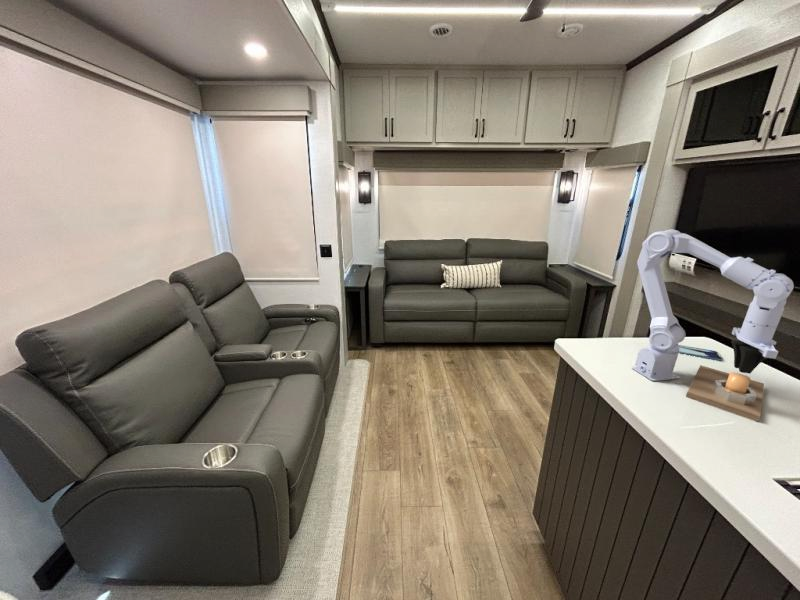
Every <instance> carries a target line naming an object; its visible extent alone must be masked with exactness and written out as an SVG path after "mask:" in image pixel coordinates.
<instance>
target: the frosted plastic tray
mask: <svg viewBox="0 0 800 600" xmlns="http://www.w3.org/2000/svg"><path fill="white" fill-rule="evenodd" d="M726 382H727V380H717V381H715V383H714V386H713V391H714V394H716V395H718V396H720V397H721V398H723V399H725V400H727V401H730V402H734V403H738V404H742V405H747V404H754V401H755V399H756V396H757V395H756V393H755V391H754V390H753V389H751V388H749V387H748V388H747V390H746V393H745V394H740V393H736V392H732V391H730V390H728V389H726V388H725V385H726Z"/></svg>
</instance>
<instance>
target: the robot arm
mask: <svg viewBox="0 0 800 600" xmlns="http://www.w3.org/2000/svg"><path fill="white" fill-rule="evenodd" d="M641 247H642V248H641V250H640V253H639V256H638V258H637V263H636V265H637V268H638V272H639V276H640V280H641V282H642V283H641V284H642V287H643V291H644V294H645V298H646V302H647V306H648V310H649V313H650V317H651V320H650V325H649V329H650V334H649V337H648V340H649V344H648V346H646V347H643V348H641V349H639V351H638V353H637V356H636V359H635V363H634V365H633V366H631V369H632V370H635V371H636V372H637V373H639V374H641V375H642V376H644V377H645V378H647V379H648V380H650V381H652V382H657V381H658V382H659V381H667V380H676V379H680V376H679V375H677V374H676V373H673V372H674V369H675V367H676V363H677V360H678V357H679V350H680V349H679V346H678V345H679V344H680V343H682V342H683V341H684V340H685V338H686V331H685V329H684V328H683V327H682V326H681V325H680V323H679V320H678V318H677V317H676V316H675V315H674V314H673V309H672V306H671V305H672V304H671V302H670V298H669V294H668V291H667V287H666V284H665V279H664V276H663V272H662V268H661V264H662V262H663V261H664V260H665V259H666V257H668V255H670V254H675V253H677V254H689V255H692V256H694V257H696V258H698V259H700V260H702V261H704V262H705V263H709V264H711V265H713V266H715V267H717V268H719V270H720V272H721V276H722V277H725V278H727V279H729V280H730V281H732V282H734V283H736V284H738V285H740V286H741V287H744V288H745V289H747V290H751V291H753V293H754V294H753V295H754V296H753V299H752V301H751V302H750V303H749V306H748V309H747V311H746V315H745V317H744V320H743V322H742V326H741V327H734V326H733V328H732V331H731V334H732V335H733V336H736V339H737V340H736V339H731V341H730V343H731V346H732V349H733V355H734V356H733V357H734V358H733V359H734V360H733V364H734V368H736V369H738V370H739V373H741V374H743V373H744V374H751V373H752V372H753V371H754V370H755V369H756V368H757V367H758V366H759V365H760V364H761V363H762V362H764V361H765V360H767V359H774V360H776V359H777V356H778V354H779V350H777V349H776V348H775V346H776V345H777V341H775V340H774V339H773V338H774V335H775V332H776V330H777V327H778V325H779V323H780V321H781V318H782V315H783V313H784V311H785V306H786V304H787V299H788V297H790V295H791V293H792V292H793V290H794V286H795V284H794V281H793V280H792V279H791V278H790V277H788V276H787V275H786V274H784V273H777V271H776V269H767V268H766V267H763V266H761V265H759V264H757V263H755V262H754V261H755V260H754V259H753V258H751V257H749V256H748V257H746V258H745V257H743V256H735V257H730V256H728V255H726V254H725V253H722V252H721V251H719V250H717V249H715V248H713V247H712V246H709V245H708V244H707V243H705V242H703V241H701V240H699V239H697V238H696V237H693V236H691V235H689V234H687V233H683V232H680V231H679V230H676V229H672V228H671V229H670V228H669V229H667V230H661V231H655V232H653V233H651V234H650V235H649V236H648V237H646V239H645V240H644V241H643V242H642V246H641Z"/></svg>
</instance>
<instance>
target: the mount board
mask: <svg viewBox="0 0 800 600" xmlns="http://www.w3.org/2000/svg"><path fill="white" fill-rule="evenodd" d="M729 374H730V373H728V372H725V371H721V370H718V369H716V368H711V367H708V366H705V365H702V364H701V365H699V367H698V370H697V372H696V374H695V375H694V378H693V380H692V381H691V384H690V385H689V388H688V390H687V392H686V395H685V397H686V398H688V399H691V400H695V401H697V402H700V403H703V404H707V405H708V406H711V407H714V408H718V409H720V410H723V411H725V412H728V413H731V414H734V415H736V416H740V417H742V418H745V419H748V420H750V421H755V422H757V423H758V422H759V420H760V417H761V410H762V404H763V397H764V396H763V395H764V387H765V383H763V382H760V381H756V380H752V379H751V380H750V383H749V385H748V387H749V388H751V389H753V390H754V391H755V393H756V395H757V396H756V399H755V401H754V404H747V405H742V404H738V403H734V402H730V401H727V400H725V399H723V398H721V397H720V396H718V395H716V394H714V391H713V386H714V383H715V381H717V380H728V377H729Z"/></svg>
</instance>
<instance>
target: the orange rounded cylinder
mask: <svg viewBox="0 0 800 600" xmlns="http://www.w3.org/2000/svg"><path fill="white" fill-rule="evenodd" d="M750 380H752V379H751V377H749V376H747V375H745V374H743V373H740V372H730V373H729V377H728V380H727V382H726V385H725V388H726V389H728V390H730V391H732V392H736V393H740V394H745V393H746V390H747V388H748V385H749V383H750Z"/></svg>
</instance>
